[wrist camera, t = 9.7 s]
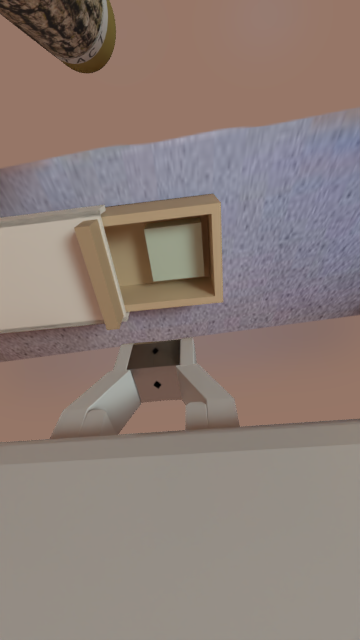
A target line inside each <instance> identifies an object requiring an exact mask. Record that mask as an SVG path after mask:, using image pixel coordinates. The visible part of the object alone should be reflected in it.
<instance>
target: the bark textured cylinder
mask: <svg viewBox="0 0 360 640" xmlns="http://www.w3.org/2000/svg"><path fill="white" fill-rule="evenodd" d="M0 14H1V15H2V16H4V17H5V18H6V19H7V20H9V21H10V22H11V23H13V24H14V25H15V26H17V27H18V28H19V29H20V30H22V31H23V32H24V33H26V34H27V35H28V36H29V37H31V38H32V39H33V40H34V41H36V42H37V43H38V44H40V45H41V46H42V47H43V48H45V49H46V50H47V51H48V52H50V53H51V54H52V55H54V56H55V57H56V58H58V59H59V60H61V61H62V62H63V63H64V64H66V65H67V66H68V67H70V68H71V69H73V70H75V71H78V72H81V73H93V72H96V71H98V70H100V69H101V68H102V67H103V66H105V64H106V63H107V62H108V60H109V59H110V57H111V55H112V52H113V49H114V45H115V39H116V26H115V19H114V14H113V10H112V7H111V4H110V1H109V0H0Z"/></svg>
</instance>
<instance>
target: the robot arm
mask: <svg viewBox="0 0 360 640" xmlns="http://www.w3.org/2000/svg"><path fill="white" fill-rule="evenodd" d="M181 399H182V401H183V402H184V403H185V405H186V430H182V431H168V432H152V433H138V434H123V435H118V434H119V432H120V431H121V430H122V428H123V427H124V426H125V424H126V423H127V421H128V420H129V419H130V418H131V416H132V415H133V414H134V412H135V411H136V410H137V408H138V407H139V406H140V404H141V402H151V401H161V400H181ZM0 640H360V419H349V420H334V421H319V422H304V423H289V424H274V425H259V426H245V427H240V426H239V421H238V416H237V410H236V405H235V400H234V398H233V397H232V396H231V395H230V394H229V393H228V392H227V391H226V390H225V389H224V388H223V387H222V386H220V385H219V384H218V383H217V382H216V381H215V380H214V379H213V378H212V377H211V376H210V375H209V374H208V373H207V372H206V371H205V370H204V369H203V368H202V367H201V366H200V365H198V364H197V363H196V355H195V347H194V340H193V337H191V338H183V339H178V340H168V341H156V342H143V343H131V344H123V345H121V347H120V350H119V353H118V357H117V359H116V363H115V366H114V369H113V371H110V372H108V373H107V374H106V375H105V376H103V377H102V378H101V379H100V380H99V381H98V382H96V383H95V384H94V385H93V386H92V387H90V388H89V389H88V390H87V391H86V392H85V393H84V394H82V395H81V396H80V397H79V398H78V399H76V400H75V401H74V402H73V403H72V404H70V405H69V406H68V407H67V408H66V409H65V410H63V412H62V414H61V416H60V418H59V420H58V422H57V425H56V427H55V429H54V431H53V433H52V435H51V437H50V439H46V440H31V441H16V442H1V443H0Z"/></svg>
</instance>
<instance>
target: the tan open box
mask: <svg viewBox="0 0 360 640" xmlns="http://www.w3.org/2000/svg"><path fill="white" fill-rule="evenodd" d="M105 209H106V211H105V212H103V213H102V214H101V218H102V222H103V226H104V230H105V234H106V237H107V241H108V245H109V249H110V253H111V256H112V260H113V264H114V268H115V272H116V275H117V279H118V283H119V287H120V291H121V294H122V298H123V302H124V306H125V310H126V312H130V311H140V310H150V309H160V308H170V307H180V306H190V305H200V304H210V303H220V302H223V278H222V238H221V202H220V201H219V200H218V199H217V198H216V197H215V195H214V194H207V195H199V196H191V197H183V198H175V199H167V200H158V201H150V202H142V203H134V204H126V205H118V206H110V207H105Z"/></svg>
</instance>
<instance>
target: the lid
mask: <svg viewBox="0 0 360 640" xmlns="http://www.w3.org/2000/svg"><path fill="white" fill-rule="evenodd" d="M105 211H106V209H105V205H99V206H91V207H83V208H75V209H67V210H59V211H51V212H42V213H34V214H26V215H18V216H10V217H2V218H0V334H2V333H12V332H22V331H32V330H43V329H53V328H63V327H73V326H83V325H93V324H104V323H105V325H106V328H107V330H112V329H119V328H120V325H121V322H124V321H127V320H128V317H129V313H130V312H126V310H125V306H124V302H123V298H122V294H121V291H120V287H119V283H118V279H117V275H116V272H115V268H114V264H113V260H112V256H111V253H110V249H109V245H108V241H107V237H106V234H105V230H104V226H103V222H102V218H101V214H102V213H103V212H105Z"/></svg>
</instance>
